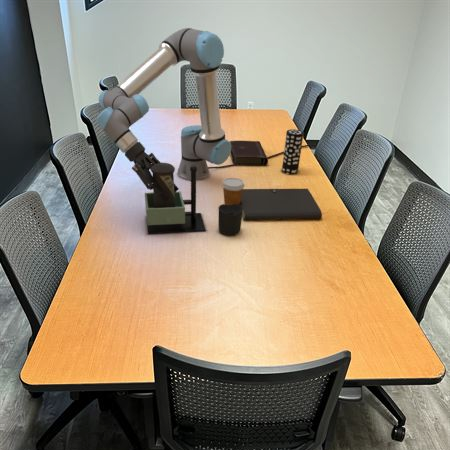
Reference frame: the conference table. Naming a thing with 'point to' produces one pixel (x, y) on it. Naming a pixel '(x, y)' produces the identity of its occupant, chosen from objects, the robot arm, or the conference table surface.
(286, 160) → the white-spotted black cylinder
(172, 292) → the conference table surface
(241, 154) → the diary
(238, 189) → the disposable coffee cup
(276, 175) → the conference table surface
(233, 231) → the pen holder
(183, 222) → the green box on stand
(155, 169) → the container
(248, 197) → the file folder
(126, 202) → the conference table surface
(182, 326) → the conference table surface
